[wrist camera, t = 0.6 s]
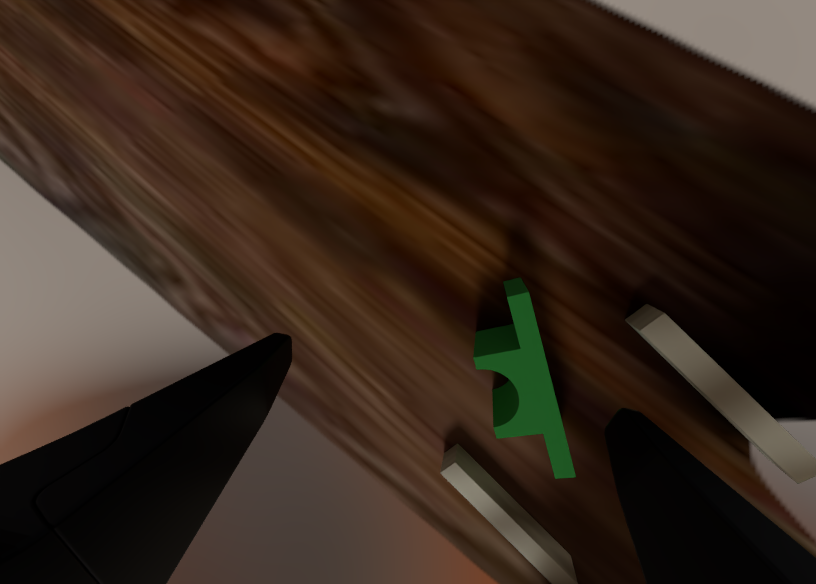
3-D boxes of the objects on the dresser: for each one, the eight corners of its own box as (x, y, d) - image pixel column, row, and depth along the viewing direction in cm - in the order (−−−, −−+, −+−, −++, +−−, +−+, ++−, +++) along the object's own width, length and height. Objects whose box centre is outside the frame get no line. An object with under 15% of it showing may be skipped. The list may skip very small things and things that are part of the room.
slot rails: (792, 445, 19) (827, 470, 17) (554, 563, 24) (560, 592, 22) (646, 303, 19) (664, 312, 17) (443, 453, 24) (440, 472, 23)
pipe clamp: (464, 290, 22) (458, 307, 17) (520, 276, 21) (529, 290, 16) (505, 434, 23) (509, 483, 19) (559, 428, 22) (577, 479, 18)
